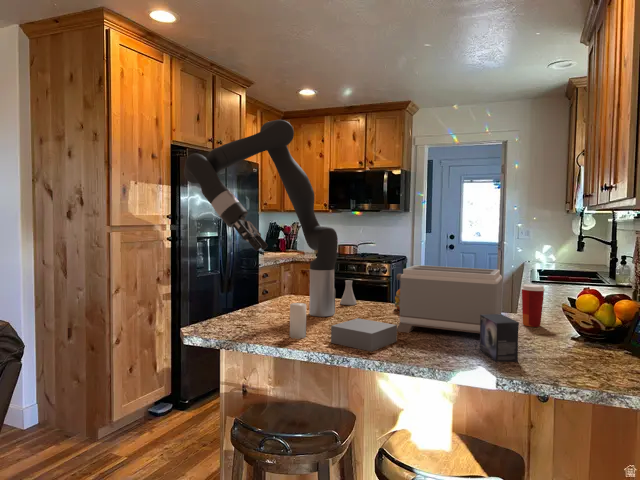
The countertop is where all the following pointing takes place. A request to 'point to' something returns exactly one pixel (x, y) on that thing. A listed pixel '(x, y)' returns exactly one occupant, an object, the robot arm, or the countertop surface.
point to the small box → (499, 337)
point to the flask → (348, 294)
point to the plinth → (364, 334)
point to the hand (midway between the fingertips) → (262, 248)
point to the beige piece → (298, 320)
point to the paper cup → (532, 304)
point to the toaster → (448, 297)
